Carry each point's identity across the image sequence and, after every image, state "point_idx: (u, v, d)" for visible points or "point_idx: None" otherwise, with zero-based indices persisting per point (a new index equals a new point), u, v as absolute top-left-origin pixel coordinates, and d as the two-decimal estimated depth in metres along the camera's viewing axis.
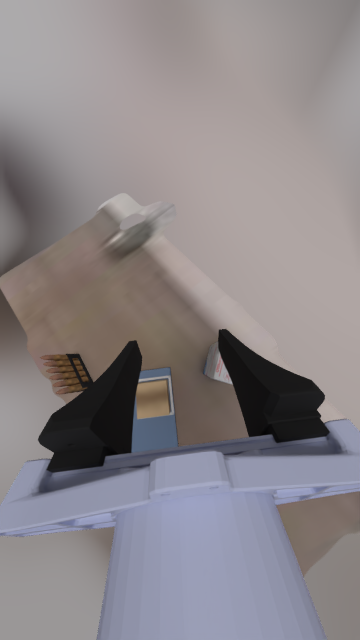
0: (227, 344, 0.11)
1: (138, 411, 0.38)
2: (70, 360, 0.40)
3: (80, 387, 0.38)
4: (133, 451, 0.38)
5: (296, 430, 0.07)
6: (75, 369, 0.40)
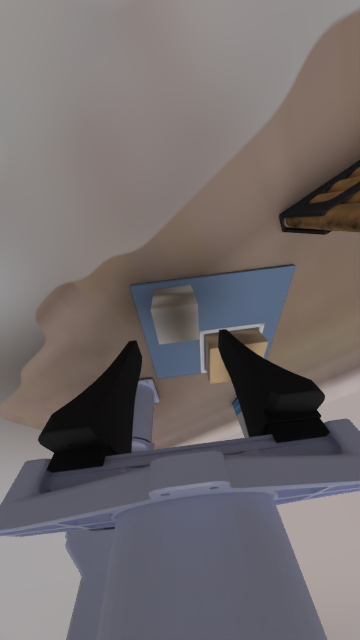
0: (227, 344, 0.11)
1: None
2: None
3: (334, 230, 0.12)
4: (150, 330, 0.22)
5: (296, 430, 0.07)
6: None
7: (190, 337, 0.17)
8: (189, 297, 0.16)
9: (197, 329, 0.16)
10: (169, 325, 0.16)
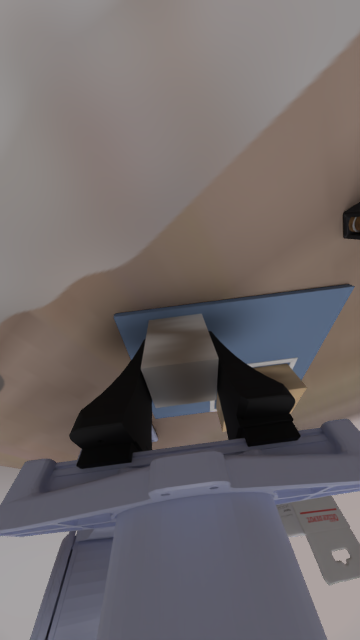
0: None
1: None
2: None
3: None
4: None
5: (267, 434, 0.07)
6: None
7: (202, 399, 0.11)
8: (203, 342, 0.10)
9: (214, 389, 0.10)
10: (171, 386, 0.10)
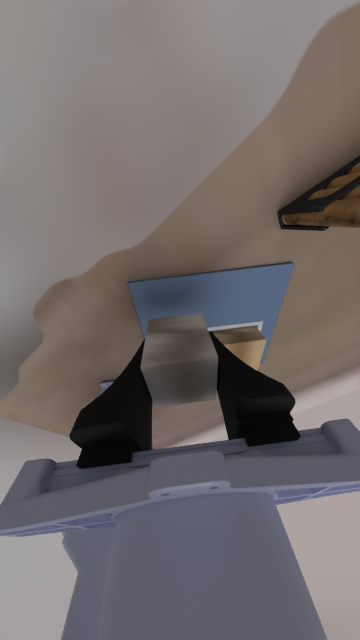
0: None
1: None
2: None
3: (332, 226, 0.12)
4: None
5: (267, 434, 0.07)
6: None
7: (202, 398, 0.11)
8: (203, 341, 0.10)
9: (214, 388, 0.10)
10: (170, 386, 0.10)
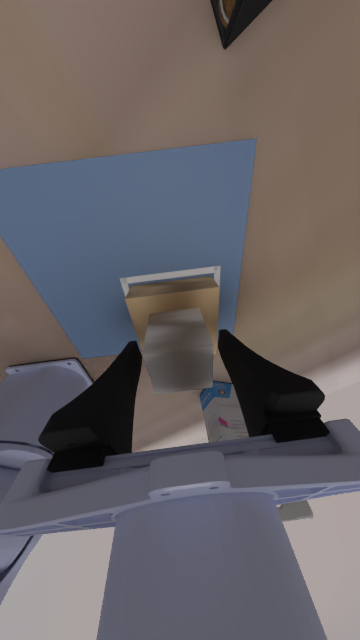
0: (227, 344, 0.11)
1: (145, 300, 0.13)
2: None
3: None
4: (38, 273, 0.14)
5: (296, 430, 0.07)
6: None
7: (199, 385, 0.12)
8: (200, 332, 0.11)
9: (210, 376, 0.11)
10: (170, 373, 0.11)
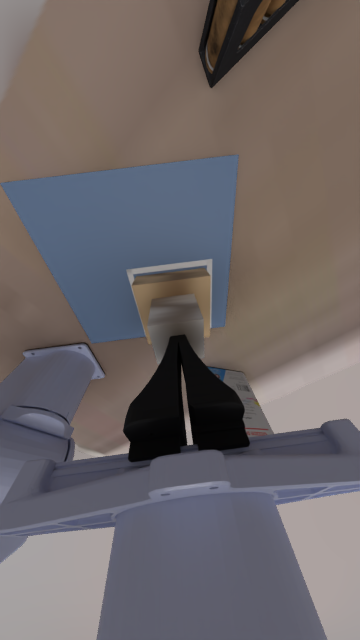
0: (180, 350, 0.11)
1: (148, 287, 0.15)
2: None
3: None
4: (57, 265, 0.16)
5: (218, 440, 0.07)
6: None
7: None
8: (193, 310, 0.13)
9: (202, 347, 0.14)
10: None
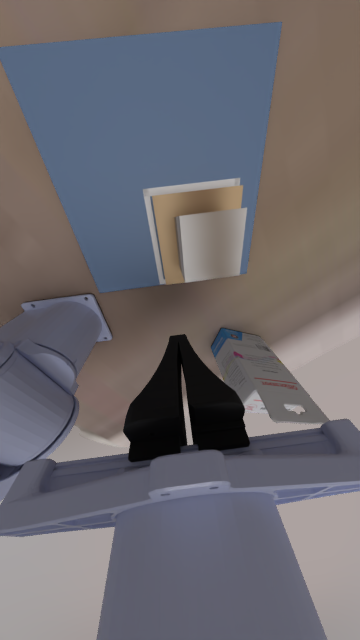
0: (180, 350, 0.11)
1: (171, 199, 0.13)
2: None
3: None
4: (63, 179, 0.14)
5: (218, 440, 0.07)
6: None
7: (227, 271, 0.12)
8: None
9: (239, 257, 0.12)
10: (202, 248, 0.11)
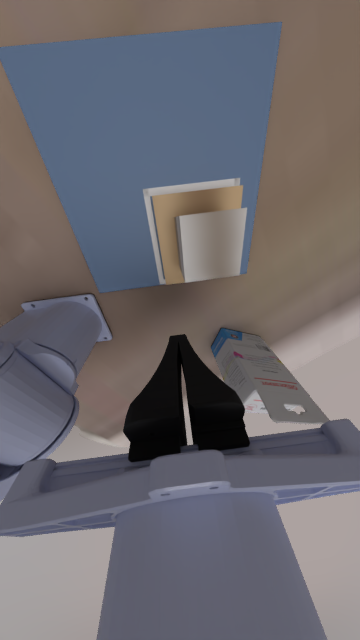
0: (180, 350, 0.11)
1: (171, 199, 0.13)
2: None
3: None
4: (63, 179, 0.14)
5: (218, 440, 0.07)
6: None
7: (227, 271, 0.12)
8: None
9: (239, 257, 0.12)
10: (202, 248, 0.11)
